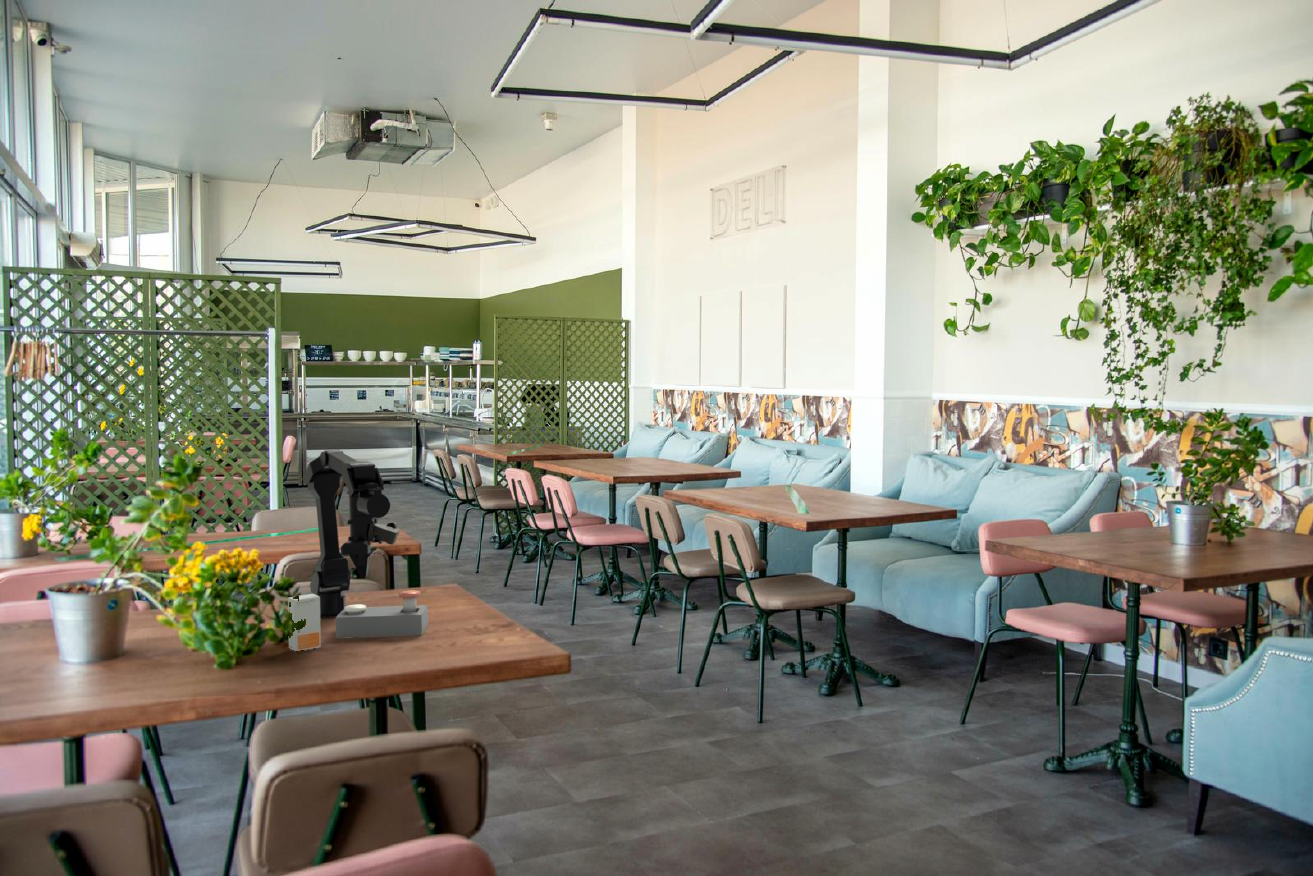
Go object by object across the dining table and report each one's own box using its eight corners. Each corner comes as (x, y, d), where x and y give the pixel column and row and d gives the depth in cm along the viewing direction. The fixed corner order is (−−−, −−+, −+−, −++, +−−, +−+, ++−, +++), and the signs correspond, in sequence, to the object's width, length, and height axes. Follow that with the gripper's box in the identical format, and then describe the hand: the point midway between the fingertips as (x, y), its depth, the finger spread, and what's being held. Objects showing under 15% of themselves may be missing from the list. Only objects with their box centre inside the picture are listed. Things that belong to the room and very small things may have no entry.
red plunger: (397, 615, 230) (397, 595, 230) (401, 610, 235) (400, 590, 235) (418, 614, 230) (418, 594, 230) (421, 610, 235) (421, 589, 235)
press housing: (336, 638, 226) (335, 617, 226) (345, 627, 236) (345, 607, 236) (421, 635, 228) (421, 614, 228) (427, 624, 238) (427, 605, 238)
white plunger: (342, 630, 229) (342, 609, 229) (347, 624, 234) (346, 604, 234) (364, 629, 229) (363, 608, 229) (368, 624, 234) (367, 604, 234)
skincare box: (295, 653, 214) (293, 600, 214) (288, 649, 218) (286, 597, 217) (322, 647, 218) (320, 596, 218) (314, 644, 222) (313, 593, 221)
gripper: (388, 518, 221) (390, 585, 222) (403, 508, 240) (404, 570, 241) (339, 519, 221) (341, 586, 221) (357, 509, 239) (359, 571, 240)
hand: (363, 578), depth 231 cm, fingers closed
